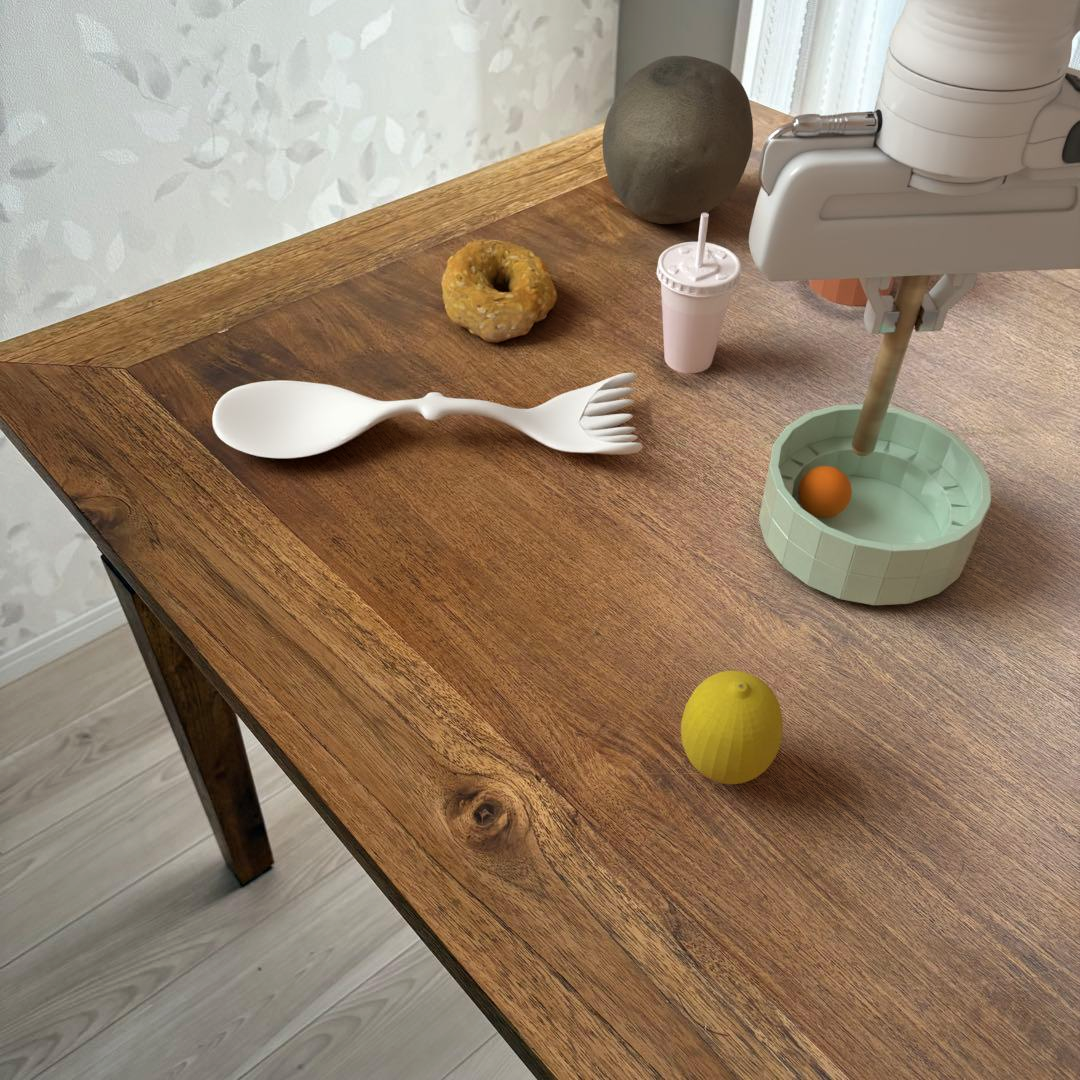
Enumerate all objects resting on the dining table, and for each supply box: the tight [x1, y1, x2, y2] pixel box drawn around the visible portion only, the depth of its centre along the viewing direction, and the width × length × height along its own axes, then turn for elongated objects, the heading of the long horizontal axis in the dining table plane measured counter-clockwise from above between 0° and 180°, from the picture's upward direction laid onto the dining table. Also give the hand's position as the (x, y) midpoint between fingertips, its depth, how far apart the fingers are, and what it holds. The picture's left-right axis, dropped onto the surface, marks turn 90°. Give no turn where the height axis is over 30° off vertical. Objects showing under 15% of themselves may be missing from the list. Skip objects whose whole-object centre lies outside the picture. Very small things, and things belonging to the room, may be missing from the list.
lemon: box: [680, 670, 784, 785], centre depth 62 cm, size 6×6×8 cm
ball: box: [798, 466, 852, 518], centre depth 77 cm, size 4×4×4 cm
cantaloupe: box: [602, 55, 754, 225], centre depth 102 cm, size 14×14×15 cm
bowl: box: [758, 403, 992, 606], centre depth 75 cm, size 14×14×6 cm
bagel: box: [440, 238, 558, 344], centre depth 95 cm, size 10×11×5 cm
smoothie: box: [656, 213, 742, 374], centre depth 86 cm, size 6×6×14 cm
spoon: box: [211, 372, 644, 460], centre depth 84 cm, size 9×32×4 cm, turn 89°
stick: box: [851, 275, 932, 456], centre depth 70 cm, size 2×2×20 cm
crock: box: [807, 277, 896, 307], centre depth 95 cm, size 7×7×10 cm
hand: (901, 327), depth 69 cm, fingers closed on stick, 1 cm apart
